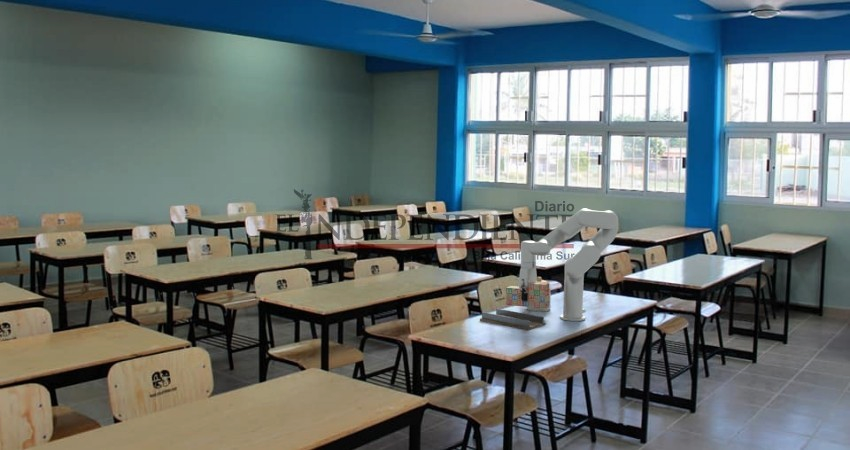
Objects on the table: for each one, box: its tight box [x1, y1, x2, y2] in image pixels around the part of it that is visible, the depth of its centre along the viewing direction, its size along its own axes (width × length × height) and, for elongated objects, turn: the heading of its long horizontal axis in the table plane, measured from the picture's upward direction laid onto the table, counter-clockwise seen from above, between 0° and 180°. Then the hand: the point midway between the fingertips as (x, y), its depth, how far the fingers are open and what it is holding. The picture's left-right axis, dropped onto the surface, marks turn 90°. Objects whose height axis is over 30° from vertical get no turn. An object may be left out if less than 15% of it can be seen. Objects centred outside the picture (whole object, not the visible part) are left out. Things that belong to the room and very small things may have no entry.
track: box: [479, 308, 547, 331], centre depth 371 cm, size 16×28×4 cm, turn 49°
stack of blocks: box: [505, 282, 550, 308], centre depth 387 cm, size 21×6×12 cm, turn 61°
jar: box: [526, 276, 552, 312], centre depth 404 cm, size 13×13×18 cm
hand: (528, 299), depth 387 cm, fingers closed on stack of blocks, 7 cm apart
